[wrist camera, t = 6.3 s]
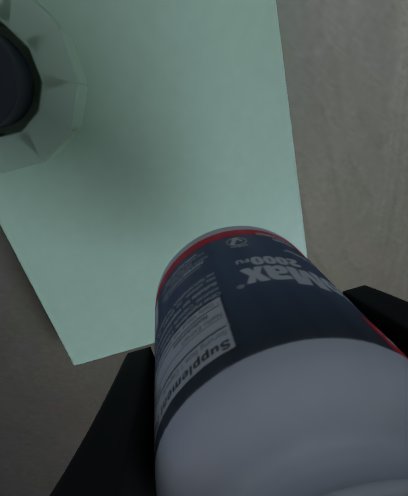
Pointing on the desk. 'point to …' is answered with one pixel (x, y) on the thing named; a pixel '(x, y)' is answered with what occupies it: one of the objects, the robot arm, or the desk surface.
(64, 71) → the green flat slab
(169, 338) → the pill bottle
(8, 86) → the button
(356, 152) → the desk surface
